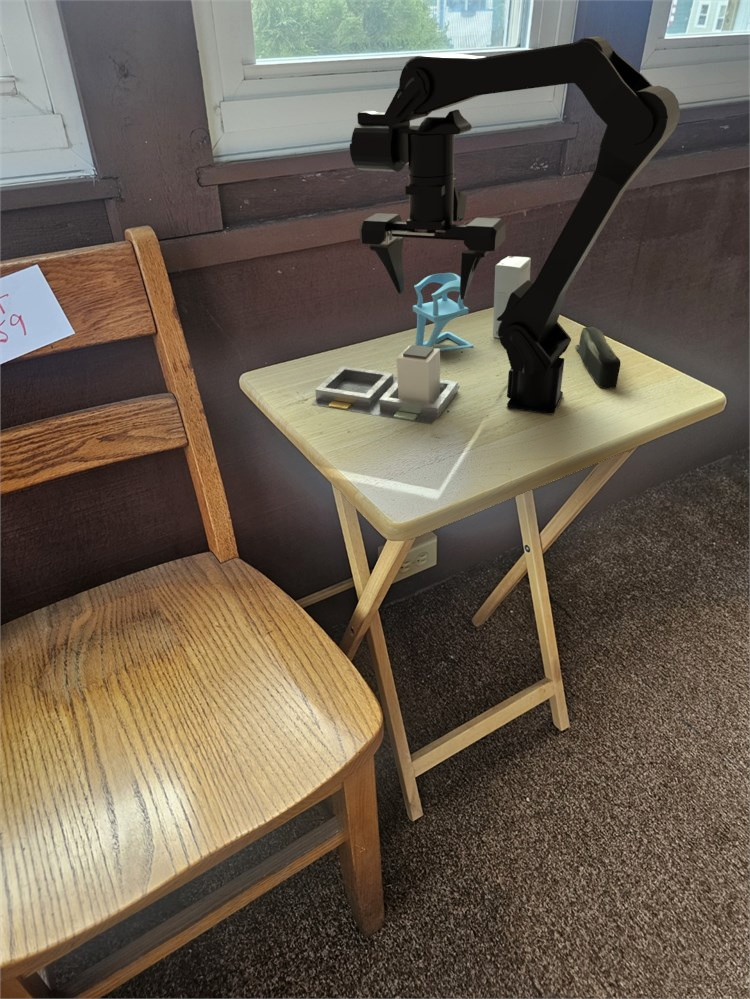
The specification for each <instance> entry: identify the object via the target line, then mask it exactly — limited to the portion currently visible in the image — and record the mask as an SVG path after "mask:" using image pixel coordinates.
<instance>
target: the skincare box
mask: <svg viewBox="0 0 750 999" xmlns="http://www.w3.org/2000/svg"><path fill="white" fill-rule="evenodd" d="M531 263H532V260H531V257H528V256H514V255H513V256H512V255H508V256H507V257H505V258H503V259H501V260H500V261H499V262H498V263H497V264H495V267H494V293H493V294H494V295H493V296H494V297H493V317H492V318H493V319H492V320H493V321H492V322H493V324H492V325H493V326H492V336H493V338H497V339H499V337H498V328H499V325H500V323H501V322H502V321H497V318H498V317H499V316H500V315H502V313H503V312H504V311H505V308H506V305H507V302H508V299H509V297H510V295H511V293H512V292H513V291H515V290H516V289H517V288H518V287H519V286H521V285H522V284H523V283H524V282H526V281H527V280H529V281H530V282H531V265H532V264H531Z"/></svg>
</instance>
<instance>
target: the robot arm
mask: <svg viewBox="0 0 750 999" xmlns="http://www.w3.org/2000/svg"><path fill="white" fill-rule="evenodd" d="M566 84H567V85H569V84H575V85H576V87H577V88H578V89H579V90H580V91H581V92H582V94H583V95H584V97H585V99H586V100H587V102H588V103H589V105H590V106H591V108H592V110H593V111H594V112H595V114H596V115H597V116H598V118H600V120H602V122H604V123H605V124H606V128H605V131H604V133H603V136H602V139H601V143H600V145H599V149H598V152H597V156H596V162H595V167H594V170H593V173H592V175H591V178H590V179H589V181H588V183H587V185H586V187H585V189H584V191H583V192H582V194H581V196H580V198H579V199H578V200H577V201H578V202H577V203H576V205H575V207H574V208H573V210H572V212H571V214H570V216H569V218H568V220H567V221H566V222H565V223H566V224H565V225H564V227H563V229H562V230H561V233H560V234H559V237H558V238H557V240H556V242H555V243H554V246H553V247H552V249H551V251H550V252H549V255H548V256H547V259H546V260H545V261H544V263H543V266H542V268H541V269H540V271H539V272H538V275H537V277H536V279H535V280H534V282H531V280H530V281H529V280H527V281H526V282H524V283H523V284H522V285H521V286H519V287H518V288H517V289H516V290H515V291H513V292H512V293H511V295H510V297H509V299H508V302H507V305H506V308H505V311H504V312H503V313H502V315H500V316H499V317H498V318H497V321H502V322H501V323H500V325H499V328H498V337H499V338H498V339H499V343H500V344H501V345H502V348H504V350H505V351H506V352H505V353H506V355H507V358H508V362H509V365H510V369H509V370H508V374H507V375H508V376H507V377H508V378H507V391H506V392H507V393H506V397H507V398H508V399H509V400H508V402H507V403H506V408H508V409H511V410H512V409H514V410H521V411H527V412H533V413H541V414H547V415H553V414H555V412H556V410H557V408H558V407H559V404H560V402H561V400H562V398H563V395H564V392H563V391H562V385H563V384H562V383H563V382H562V381H563V374H564V364H565V358H564V357H562V355H563V354H564V353H565V352H566V351H567V349H568V348H569V347H570V346H569V345H570V343H571V342H572V338H571V337H570V335H569V334H568V332H567V331H566V330H565V329H564V328H563V326H562V325H561V324H560V323H559V321H558V320H559V317H560V315H561V312H562V310H563V306H564V302H565V297H566V292H567V290H568V288H569V286H570V284H571V283H572V282H573V280H574V278H575V276H576V274H577V272H578V271H579V269H580V267H582V264H583V262H584V260H585V259H586V257H587V256H588V254H589V252H590V250H591V248H592V247H593V246H594V244H595V242H596V240H597V238H598V237H599V235H600V234H601V232H602V230H603V228H604V227H605V225H606V223H607V222H608V220H609V218H610V216H611V215H612V213H613V212H614V211H615V208H616V207H617V205H618V203H619V201H620V199H621V198H622V196H623V194H624V193H625V191H626V190H627V188H628V186H629V185H630V184H631V182H633V180H634V178H635V177H636V176H638V174H639V173H640V172H641V171H642V169H643V168H644V167H646V165H647V164H648V163H649V161H651V159H652V158H653V157H654V156H655V155H656V153H657V152H658V151H659V149H661V147H662V146H663V145H664V143H665V142H666V141H667V140H668V139H669V138H670V136H671V135H672V134H673V132H674V131H675V130H676V128H677V127H678V123H679V120H680V118H681V110H680V109H681V108H680V105H679V100H678V98H677V97H676V94H675V93H674V92H673V91H671V89H669V88H668V87H665V86H660V85H653V84H652V83H651V82H650V81H649V80H648V79H647V78H646V77H645V76H644V75H643V74H642V73H641V72H640V71H639V70H638V69H636V68H635V66H633V65H631V64H630V63H629V62H628V61H627V60H626V59H624V58H623V57H622V56H621V55H620V54H618V52H617V51H616V50H615V49H614V48H613V47H612V45H611V44H610V42H609V40H608V39H605V38H603V37H602V36H590V37H584V38H580V39H577V41H575V42H571V43H565V44H560V45H553V46H547V47H546V46H545V47H541V48H540V47H539V48H534V49H527V50H521V51H514V52H510V53H502V54H495V55H489V56H482V55H481V56H480V55H479V56H478V55H473V54H472V55H471V54H463V53H447V52H446V53H445V52H444V53H441V52H440V53H434V54H433V53H432V54H425V55H419V56H414V57H412V58H410V59H409V60H407V61H406V63H405V65H404V67H403V68H402V70H401V73H400V76H399V84H398V85H399V86H398V88H397V90H396V92H395V93H394V96H393V98H392V100H391V102H390V103H389V105H388V107H387V109H386V111H385V112H378V111H375V110H364V111H360V112H359V111H358V113H356V114H357V115H356V116H357V123H356V125H354V126H355V127H354V129H353V131H352V134H351V140H350V143H349V151H350V152H349V154H350V157H351V162H352V164H353V165H354V167H355V168H356V169H357V170H360V171H370V172H371V171H372V172H374V171H375V172H395V173H399V172H401V171H402V170H403V169H404V167H406V164H407V163H408V184H407V185H405V187H404V188H405V189H404V190H405V195H407V196H408V205H409V208H408V209H409V214H408V216H409V218H408V219H407V220H406V221H402V220H403V219H402V217H401V216H400V214H399V213H383V212H380V213H379V212H377V213H375V214H372V215H370V216H369V217H368V218H365V219H364V220H362V222H361V223H360V227H359V230H358V231H359V242H360V244H364V245H369V246H368V248H369V251H374V252H375V253H376V255H377V257H378V258H379V260H380V262H382V265H383V266H384V267H385V269H386V272H387V273H388V276H389V278H390V280H391V281H392V284H393V285H394V287H395V288H394V289H395V290H396V292H397V294H399V295H402V294H403V293H404V292H405V291H404V290H405V289H404V288H405V287H404V286H405V279H404V278H405V277H404V276H405V275H404V263H403V245H404V239H405V238H413V239H432V240H447V241H449V240H450V241H463V244H464V245H465V247H466V248H465V249H464V250H463V251H462V252H461V258H460V259H461V260H460V276H459V277H460V292H459V296H461V299H462V300H463V301H464V300H465V299H466V297H467V295H468V292H469V289H470V286H471V283H472V281H473V278H474V276H475V273H476V270H477V268H478V265H479V263H480V261H481V259H482V258H485V257H486V256H487V255H488V254H489V253H491V252H494V251H496V250H497V249H498V248H499V247H500V246H501V245H502V244H503V243H504V242H505V241H506V231H507V230H506V229H507V227H506V223H505V222H504V220H503V219H502V218H499V217H498V218H497V217H496V218H494V217H493V218H492V217H475V218H474V219H473V220H471V221H470V222H468V224H455V223H454V222H464V221H465V218H466V217H465V216H466V207H467V199H468V196H467V195H466V194H464V193H462V192H460V191H458V187H457V186H458V182H457V178H456V177H455V136H457V135H462V134H464V133H467V132H470V131H471V130H472V126H473V125H472V124H471V123H470V122H469V121H468V120H467V119H466V118H464V116H463V115H462V113H461V112H460V110H459V109H454V110H451V111H450V110H449V111H448V113H447V114H446V116H429V115H430V114H432V112H436V111H440V110H443V109H448V108H450V107H453V106H455V105H459V104H461V103H465V102H466V101H470V100H472V99H475V98H477V97H480V96H483V95H490V94H500V93H506V92H514V91H515V92H516V91H523V90H529V89H530V90H531V89H537V88H544V87H553V86H559V85H560V86H561V85H566ZM421 118H422V119H423V118H424V119H423V120H422V121H421V122H420V124H419V125H411V121H414V120H418V119H421ZM422 230H423V231H422Z"/></svg>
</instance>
